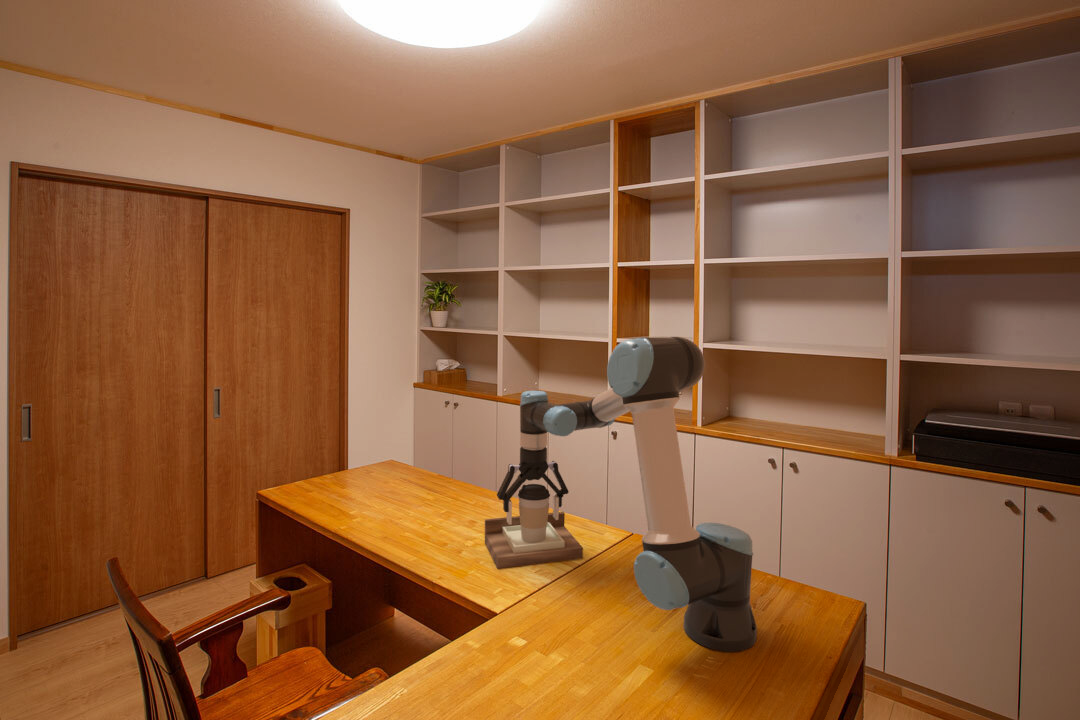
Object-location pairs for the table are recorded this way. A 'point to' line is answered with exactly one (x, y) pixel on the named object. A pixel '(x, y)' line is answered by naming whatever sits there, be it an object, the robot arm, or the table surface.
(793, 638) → the table surface
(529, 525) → the coffee cup
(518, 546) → the tray
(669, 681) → the table surface
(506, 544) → the shelf
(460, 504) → the table surface
